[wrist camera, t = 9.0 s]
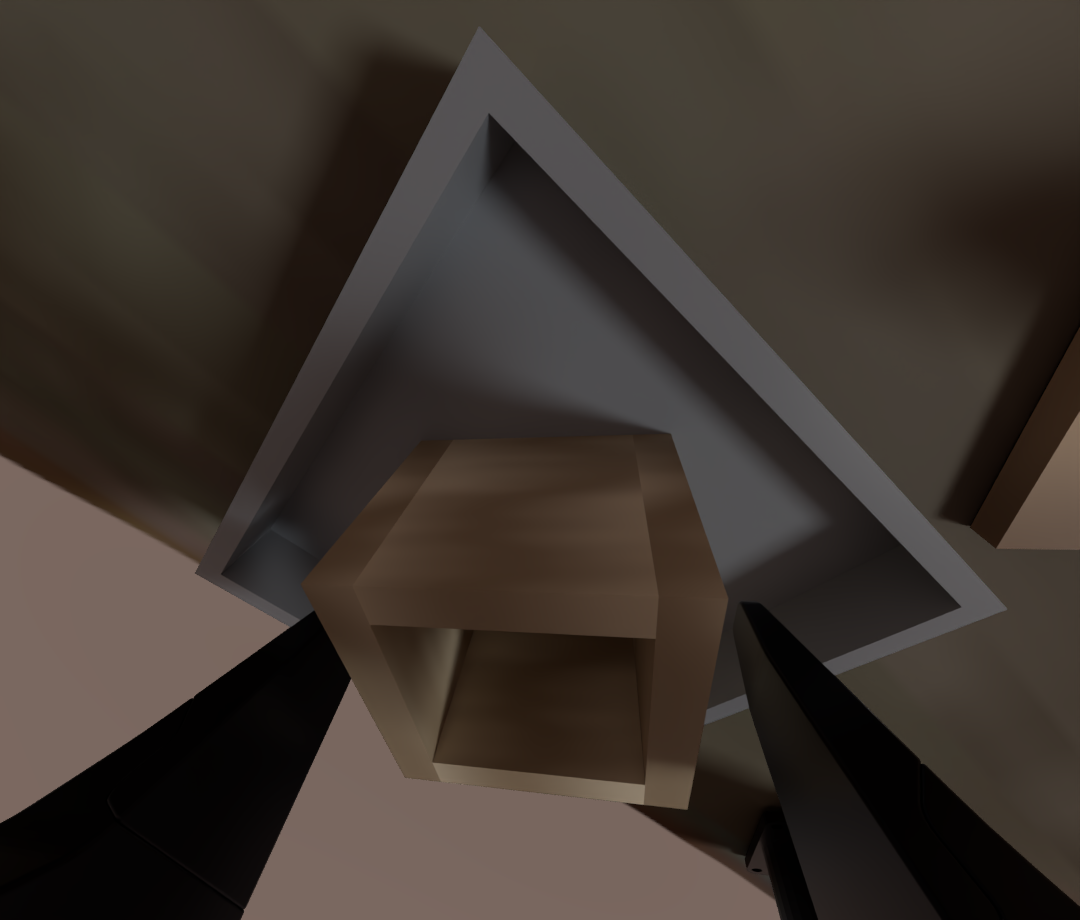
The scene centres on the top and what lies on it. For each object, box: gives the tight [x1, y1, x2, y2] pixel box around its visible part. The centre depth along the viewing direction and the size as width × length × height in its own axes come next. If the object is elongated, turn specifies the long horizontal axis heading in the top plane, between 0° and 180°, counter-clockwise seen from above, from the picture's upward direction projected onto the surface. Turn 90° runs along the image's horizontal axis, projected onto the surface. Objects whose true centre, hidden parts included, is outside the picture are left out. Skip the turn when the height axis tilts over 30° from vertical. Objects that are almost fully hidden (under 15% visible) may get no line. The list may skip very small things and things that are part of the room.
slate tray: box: [195, 26, 1007, 725], centre depth 11 cm, size 14×14×2 cm
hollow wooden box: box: [301, 434, 728, 810], centre depth 10 cm, size 6×8×5 cm
